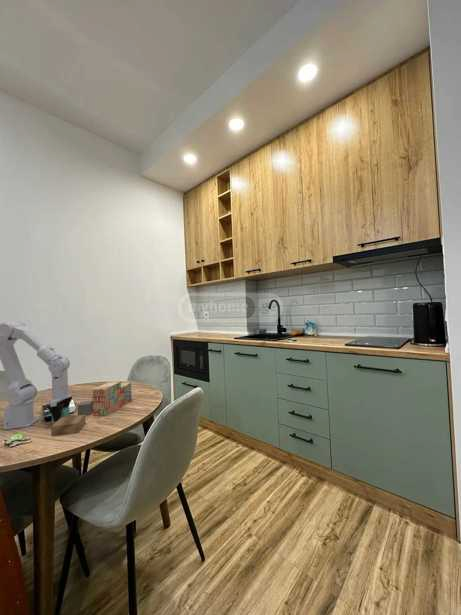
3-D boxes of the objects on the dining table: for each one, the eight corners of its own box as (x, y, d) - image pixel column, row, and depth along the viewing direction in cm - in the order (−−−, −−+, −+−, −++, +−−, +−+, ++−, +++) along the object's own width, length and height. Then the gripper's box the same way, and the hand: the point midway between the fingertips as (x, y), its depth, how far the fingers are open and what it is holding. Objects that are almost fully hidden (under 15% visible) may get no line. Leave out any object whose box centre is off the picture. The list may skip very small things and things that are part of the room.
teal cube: (51, 424, 107) (51, 412, 107) (57, 420, 112) (56, 408, 112) (65, 422, 108) (64, 411, 108) (69, 418, 113) (69, 407, 113)
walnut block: (51, 437, 96) (51, 426, 96) (61, 427, 104) (61, 417, 105) (77, 433, 98) (77, 423, 98) (85, 424, 106) (85, 414, 107)
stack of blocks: (121, 400, 136) (120, 377, 136) (131, 400, 135) (131, 376, 135) (93, 416, 115) (92, 388, 115) (105, 416, 114) (104, 388, 114)
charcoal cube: (77, 416, 115) (77, 405, 115) (81, 412, 120) (81, 401, 120) (90, 415, 116) (89, 404, 116) (93, 411, 121) (93, 400, 121)
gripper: (63, 389, 105) (64, 423, 104) (76, 381, 119) (77, 410, 118) (44, 391, 103) (44, 425, 102) (59, 382, 117) (60, 412, 117)
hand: (60, 417), depth 110 cm, fingers open, 7 cm apart
